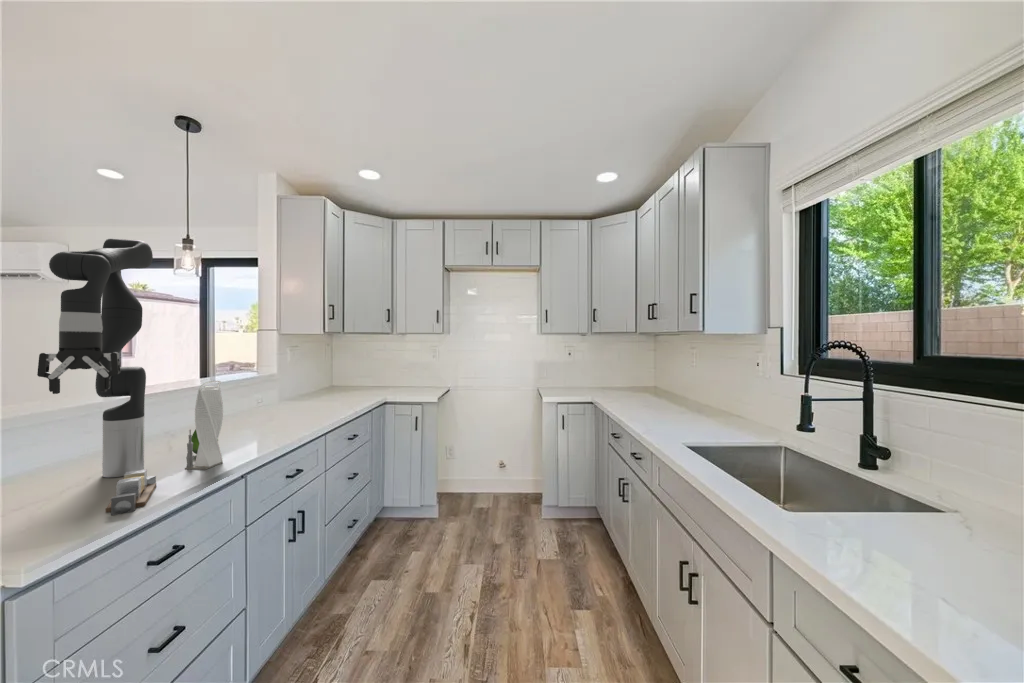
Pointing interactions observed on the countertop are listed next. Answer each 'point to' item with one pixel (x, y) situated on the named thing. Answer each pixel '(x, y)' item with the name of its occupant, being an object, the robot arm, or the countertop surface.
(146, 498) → the coupling stand
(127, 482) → the gray and yellow block
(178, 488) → the countertop surface
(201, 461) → the skyscraper
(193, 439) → the avocado
